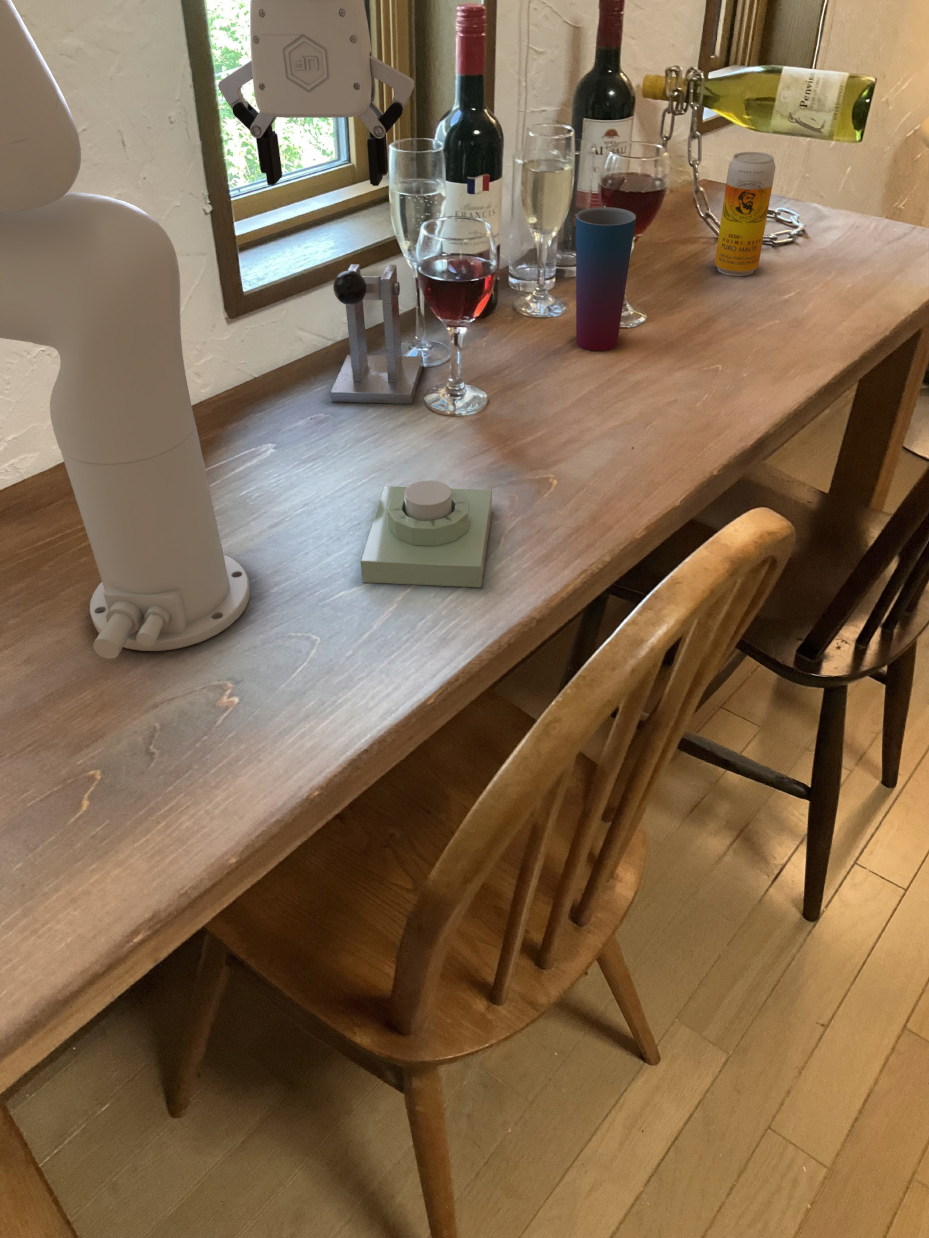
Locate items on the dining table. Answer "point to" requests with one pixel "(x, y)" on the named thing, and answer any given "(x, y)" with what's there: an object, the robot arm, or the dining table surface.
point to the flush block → (428, 542)
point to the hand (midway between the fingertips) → (325, 181)
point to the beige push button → (428, 500)
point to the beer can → (744, 213)
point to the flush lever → (356, 287)
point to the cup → (601, 274)
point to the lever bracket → (374, 373)
